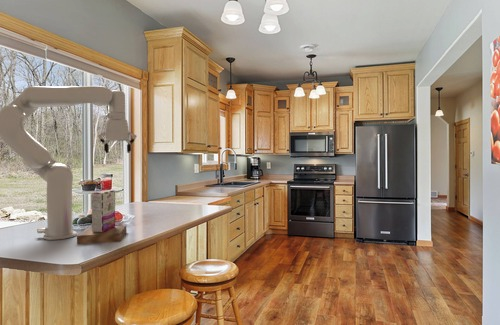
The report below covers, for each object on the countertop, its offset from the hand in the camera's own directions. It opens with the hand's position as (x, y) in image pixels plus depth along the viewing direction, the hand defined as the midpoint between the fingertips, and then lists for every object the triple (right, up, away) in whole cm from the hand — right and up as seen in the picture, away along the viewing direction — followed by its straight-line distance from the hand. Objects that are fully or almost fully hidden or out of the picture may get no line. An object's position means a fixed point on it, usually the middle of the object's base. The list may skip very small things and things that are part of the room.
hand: (117, 152), depth 159 cm
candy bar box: (+1, -34, -18) cm, 38 cm away
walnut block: (+1, -37, -19) cm, 42 cm away
